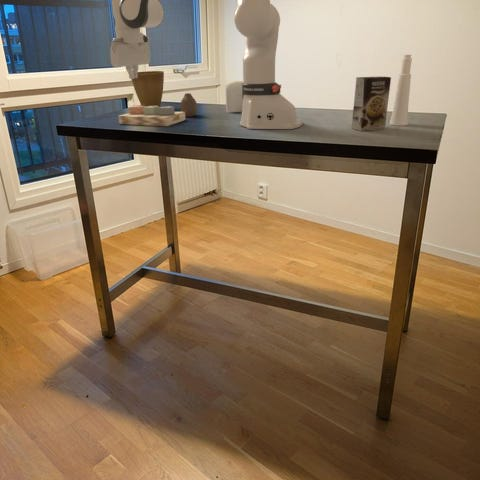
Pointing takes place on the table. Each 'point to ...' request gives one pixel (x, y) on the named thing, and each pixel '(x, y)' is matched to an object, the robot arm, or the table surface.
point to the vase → (188, 105)
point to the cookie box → (370, 103)
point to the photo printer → (234, 97)
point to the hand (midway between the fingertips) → (133, 78)
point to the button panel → (151, 119)
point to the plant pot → (149, 87)
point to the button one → (136, 109)
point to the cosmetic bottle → (402, 94)
